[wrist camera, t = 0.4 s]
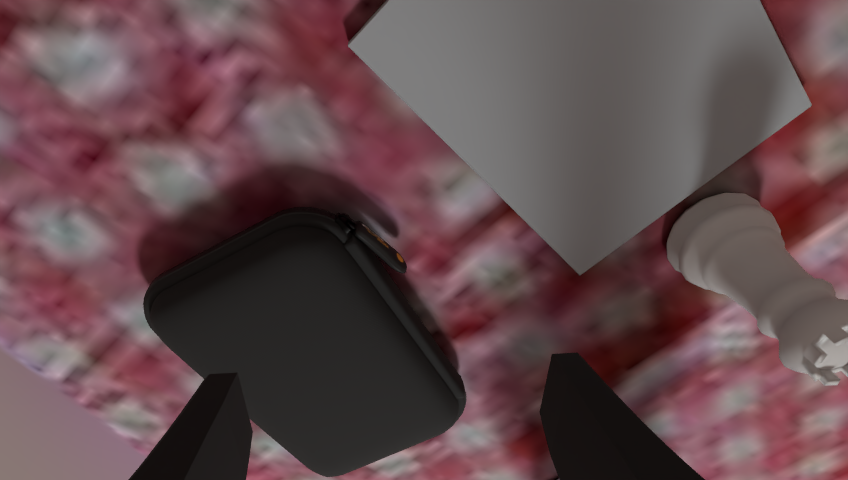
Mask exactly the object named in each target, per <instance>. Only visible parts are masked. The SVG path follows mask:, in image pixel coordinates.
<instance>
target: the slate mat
mask: <svg viewBox="0 0 848 480" xmlns="http://www.w3.org/2000/svg"><path fill="white" fill-rule="evenodd" d="M348 47H349V48H350V49H351V50H353V51H354V52H355V53H356V54H357V55H358V56H359V57H360V58H361V59H362V60H363V61H364V62H365V63H366V64H367V65H368V66H369V67H370V68H371V69H372V70H373V71H374V72H375V73H376V74H377V75H378V76H379V77H380V78H381V79H382V80H383V81H384V82H385V83H386V84H387V85H388V86H389V87H390V88H391V89H392V90H393V91H394V92H395V93H396V94H397V95H398V96H399V97H400V98H401V99H402V100H403V101H404V102H405V103H406V104H407V105H408V106H409V107H410V108H411V109H412V110H413V111H414V112H415V113H416V114H417V115H418V116H419V117H420V118H421V119H422V120H423V121H424V122H425V123H426V124H427V125H428V126H429V127H430V128H431V129H432V130H433V131H434V132H435V133H436V134H437V135H438V136H439V137H440V138H441V139H442V140H443V141H444V142H445V143H446V144H448V145H449V146H450V147H451V148H452V149H453V150H454V151H455V152H456V153H457V154H458V155H459V156H460V157H461V158H462V159H463V160H464V161H465V162H466V163H467V164H468V165H469V166H470V167H471V168H472V169H473V170H474V171H475V172H476V173H477V174H478V175H479V176H480V177H481V178H482V179H483V180H484V181H485V182H486V183H487V184H488V185H489V186H490V187H491V188H492V189H493V190H494V191H495V192H496V193H497V194H498V195H499V196H500V197H501V198H502V199H503V200H504V201H505V202H506V203H507V204H508V205H509V206H510V207H511V208H512V209H513V210H514V211H515V212H516V213H517V214H518V215H519V216H520V217H521V218H522V219H523V220H524V221H525V222H526V223H527V224H528V225H529V226H530V227H531V228H532V229H533V230H534V231H535V232H536V233H537V234H538V235H539V236H540V237H541V238H543V239H544V240H545V241H546V242H547V243H548V244H549V245H550V246H551V247H552V248H553V249H554V250H555V251H556V252H557V253H558V254H559V255H560V256H561V257H562V258H563V259H564V260H565V261H566V262H567V263H568V264H569V265H570V266H571V267H572V268H573V269H574V270H575V271H576V272H577V273H578V274H579V275H581V274H583V273H584V272H586V271H587V270H588V269H590V268H591V267H592V266H594V265H595V264H596V263H598V262H599V261H601V260H602V259H603V258H605V257H606V256H607V255H609V254H610V253H611V252H613V251H614V250H616V249H617V248H618V247H620V246H621V245H622V244H624V243H625V242H626V241H628V240H629V239H631V238H632V237H633V236H635V235H636V234H637V233H639V232H640V231H641V230H643V229H644V228H646V227H647V226H648V225H650V224H651V223H652V222H654V221H655V220H656V219H658V218H659V217H661V216H662V215H663V214H665V213H666V212H667V211H669V210H670V209H671V208H673V207H674V206H676V205H677V204H678V203H680V202H681V201H682V200H684V199H685V198H686V197H688V196H689V195H691V194H692V193H693V192H695V191H696V190H697V189H699V188H700V187H701V186H703V185H704V184H706V183H707V182H708V181H710V180H711V179H712V178H714V177H715V176H716V175H718V174H719V173H721V172H722V171H723V170H725V169H726V168H727V167H729V166H730V165H731V164H733V163H734V162H736V161H737V160H738V159H740V158H741V157H742V156H744V155H745V154H746V153H748V152H749V151H751V150H752V149H753V148H755V147H756V146H757V145H759V144H760V143H761V142H763V141H764V140H766V139H767V138H768V137H770V136H771V135H772V134H774V133H775V132H776V131H778V130H779V129H781V128H782V127H783V126H785V125H786V124H787V123H789V122H790V121H791V120H793V119H794V118H795V117H797V116H798V115H800V114H801V113H802V112H804V111H805V110H806V109H808V108H809V107H810V106H812V105H811V103H810V100H809V98H808V96H807V94H806V92H805V90H804V88H803V86H802V84H801V82H800V80H799V78H798V76H797V74H796V72H795V70H794V68H793V66H792V64H791V62H790V60H789V58H788V56H787V54H786V52H785V50H784V48H783V46H782V44H781V42H780V40H779V38H778V36H777V34H776V32H775V30H774V28H773V26H772V24H771V22H770V20H769V18H768V16H767V14H766V12H765V10H764V8H763V6H762V4H761V2H760V0H386V1H385V2H384V3H383V5H382V6H381V7H380V8H379V9H378V10H377V11H376V12H375V13H374V15H373V16H372V17H371V18H370V19H369V20H368V21H367V22H366V23H365V24H364V26H363V27H362V28H361V29H360V30H359V31H358V32H357V33H356V34H355V35H354V37H353V38H352V39H351V40H350V41H349V42H348Z"/></svg>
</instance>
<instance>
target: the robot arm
mask: <svg viewBox="0 0 848 480" xmlns="http://www.w3.org/2000/svg"><path fill="white" fill-rule="evenodd" d="M540 415H541V420H542V424H543V428H544V432H545V436H546V440H547V444H548V447H549V451H550V455H551V457H552V460H553V463H554V466H555V468H556V471H557V474H558V476H559V479H557V480H705V479H704V478H702V477H701V476H700V475H699V474H698V473H697V472H696V471H694V470H693V469H692V468H691V467H690V466H689V465H688V464H686V463H685V462H684V461H683V460H682V459H681V458H680V457H679V456H678V455H677V454H676V453H675V452H673V451H672V450H671V449H670V448H669V447H668V446H667V445H666V444H665V443H664V442H663V441H662V440H661V439H660V438H659V437H658V436H657V435H655V434H654V433H653V432H652V431H651V430H650V429H649V428H648V427H647V426H646V425H645V424H644V423H643V422H642V421H641V420H640V419H639V418H638V417H637V416H636V415H635V414H634V413H633V412H632V411H631V409H630V408H629V407H628V406H627V405H626V404H625V403H624V402H623V401H622V400H621V399H620V398H619V397H618V396H617V395H616V394H615V393H614V392H613V391H612V390H611V388H610V387H609V386H608V385H607V384H606V383H605V382H604V381H603V380H602V379H601V378H600V377H599V375H598V374H597V373H596V372H595V371H594V370H593V369H592V368H591V367H590V366H589V365H588V364H587V362H586V361H585V360H584V359H583V358H582V357H581V356H580V355H579V354H578V353H563V354H552V357H551V362H550V366H549V371H548V376H547V380H546V385H545V390H544V394H543V399H542V404H541V408H540ZM252 433H253V431H252V427H251V423H250V419H249V415H248V412H247V408H246V404H245V400H244V396H243V392H242V388H241V384H240V380H239V376H238V372H237V373H220V374H209V375H208V376H207V377H206V378H205V379H204V381H203V382H202V383H201V385H200V386H199V388H198V389H197V391H196V392H195V393H194V395H193V396H192V398H191V399H190V400H189V402H188V403H187V405H186V406H185V407H184V409H183V410H182V412H181V413H180V414H179V416H178V417H177V418H176V420H175V421H174V422H173V424H172V425H171V427H170V428H169V429H168V431H167V432H166V433H165V435H164V436H163V437H162V438H161V440H160V441H159V442H158V444H157V445H156V446H155V447H154V449H153V450H152V451H151V453H150V454H149V455H148V456H147V458H146V459H145V460H144V462H143V463H142V464H141V465H140V467H139V468H138V469H137V470H136V472H135V473H134V474H133V475H132V476H131V477H130V479H129V480H246V475H247V469H248V462H249V455H250V448H251V440H252Z"/></svg>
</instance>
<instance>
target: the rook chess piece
mask: <svg viewBox="0 0 848 480" xmlns="http://www.w3.org/2000/svg"><path fill="white" fill-rule="evenodd" d="M780 232H781V230H780V228H779V226H778V224H777V222H776V220H775V218H774V217H773V215H772V213H771V212H770V211H768V210H766V209H764V208H762V207H761V205H760V203H759V201H757V200H755V199H754V198H752V197H750V196H748V195H747V194H744V193H722V194H717V195H714V196H711V197H708V198H704V199H701V200H700V201H698V202H696V203H695V204H693V205H692V206H690V207H689V208H687V209H686V210H685V211H684V212H683V213H682V214H681V215H680V217H679V218H678V219H677V220H676V221H675V222H674V224H673V227H672V229H671V232H670V234H669V237H668V240H667V259H668V260H669V262H670V263H671V265H672V266H673V268H674V269H675V270H676V271H679V272H681V273H682V274H683V276H684V277H685V279H686V280H687V281H689V282H691V283H693V284H695V285H697V286H699V287H701V288H703V289H706V290H712V291H714V292H716V293H719V294H726V295H727V296H728V297H730V298H731V299H732V300H734V301H735V302H736V303H738V304H739V305H740V306H742V307H743V308H744V309H746V310H747V311H748V312H750V313H751V314H752V315H753V316H754V317H755V318H756V320H757V326H758V328H759V329H760V331H761V333H762V334H765V335H767V336H769V337H771V338H777V339H778V340H779V358H780V360H781V361H782V363H783V365H784V366H785V367H787V368H789V369H791V370H794V371H796V372H801V373H806V374H808V375H809V376H810V377H811V378H812V379H813V380H814V381H817V380H818V379H819V380H820V381H821V382H822V383H823V384H824V385H838V383H839V381H840V379H839V378H838V377H837V376H836V375H835V374H834V373H836V372H839V371H842V372H843V373H844V374H845V375H846V376H847V377H848V300H843V299H837V297H836V296H835V291H834V288H833V286H832V284H831V283H829V282H827V281H825V280H823V279H815V278H813V277H812V276H811V275H810V274H808V273H807V272H806V271H805V270H804V269H803V268H802V267H801V266H800V265H799V264H798V263H797V261H796V260H795V259H794V258H793V257H792V256H791V255H790V254H789V253H788V252H787V251H786V249H785V248H784V246H785V243H784V241H783V239H782V237H781V235H780Z"/></svg>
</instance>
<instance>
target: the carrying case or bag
mask: <svg viewBox="0 0 848 480" xmlns="http://www.w3.org/2000/svg"><path fill="white" fill-rule="evenodd" d="M374 253H376V254H377V255H378V256H379V257H380V258H381V259H382V260H384V261H385V262H386V263H387V264H388V265H389V266H390V267H391V268H393V269H394V270H396V271H398V272H400V273H405V272H406V268H407V266H406V263H405V261H404V259H403V258H402V257H401V255H400V254H399V253H398V252H397V251H396V250H395V249H394V248H392V247H391V246H390V245H389V244H387V243H386V242H385V241H384V240H383V239H381V238H380V237H379V236H378V235H376V234H375V233H374V232H373V231H371V230H370V229H369V228H368V227H367V226H365V225H364V224H363V223H362V222H360V221H356V223H355V222H354V221H353V220H352V219H351V218H350V217H349V216H347V215H346V214H343V213H342V214H340V213H338V214H336V215H335V214H333V213H330V212H328V211H325V210H322V209H318V208H312V207H296V208H290V209H286V210H283V211H280V212H278V213H276V214H274V215H272V216H270V217H268V218H266V219H265V220H263V221H261V222H259V223H257V224H255V225H253V226H251V227H249V228H248V229H246V230H244V231H242V232H240V233H238V234H236V235H234V236H232V237H230V238H229V239H227V240H225V241H223V242H221V243H219V244H217V245H215V246H213V247H212V248H210V249H208V250H206V251H204V252H202V253H200V254H198V255H196V256H195V257H193V258H191V259H189V260H187V261H185V262H183V263H181V264H179V265H178V266H176V267H174V268H172V269H170V270H168V271H166V272H164V273H162V274H161V275H159V276H158V277H156V278H155V279H154V281H153V282H152V283H151V284H150V286H149V288H148V290H147V291H146V294H145V297H144V303H143V305H144V314H145V317H146V320H147V322H148V324H149V326H150V328H151V329H152V330H153V331H154V332H155V333H156V334H157V335H158V336H159V337H160V339H161V340H162V341H163V342H164V343H165V344H166V345H167V346H168V347H169V348H170V349H171V350H172V351H173V352H174V353H175V354H176V355H178V356H179V357H180V358H181V359H182V360H183V361H184V362H185V363H187V364H188V365H189V366H190V367H191V368H192V369H193V370H195V371H196V372H197V373H198V374H199V375H200V376H201V377H203V378H204V379H205V378H206V377H207V376H208V375H209V374H220V373H237V372H238V376H239V380H240V384H241V388H242V392H243V396H244V400H245V404H246V408H247V412H248V415H249V419H251V420H252V421H253V422H254V423H255V424H256V425H258V426H259V427H260V428H261V429H262V430H263V431H265V432H266V433H267V434H268V435H269V436H271V437H272V438H273V439H274V440H275V441H276V442H278V443H279V444H280V445H281V446H282V447H284V448H285V449H286V450H287V451H288V452H289V453H291V454H292V455H293V456H294V457H295V458H297V459H298V460H299V461H300V462H301V463H303V464H304V465H305V466H306V467H308V468H309V469H310V470H312V471H314V472H316V473H318V474H320V475H322V476H325V477H333V476H339V475H343V474H346V473H348V472H351V471H353V470H356V469H358V468H361V467H363V466H365V465H368V464H370V463H373V462H375V461H378V460H380V459H382V458H385V457H387V456H390V455H392V454H394V453H397V452H399V451H402V450H404V449H407V448H409V447H411V446H414V445H416V444H419V443H421V442H423V441H426V440H428V439H431V438H433V437H436V436H438V435H440V434H442V433H444V432H445V431H447V430H448V429H449V428H451V427H452V426H453V425H454V423H455V422H456V421H457V420H458V419H459V417H460V416H461V414H462V413H463V411H464V408H465V404H466V392H465V388H464V384H463V381H462V378H461V376H460V375H459V374H458V373H457V372H456V370H455V369H454V368H453V366H452V365H451V363H450V362H449V360H448V359H447V357H446V356H445V355H444V353H443V352H442V350H441V349H440V347H439V346H438V345H437V343H436V342H435V340H434V339H433V337H432V336H431V334H430V333H429V332H428V330H427V329H426V327H425V326H424V324H423V323H422V322H421V320H420V319H419V317H418V316H417V314H416V313H415V311H414V310H413V309H412V307H411V306H410V304H409V303H408V301H407V300H406V299H405V297H404V296H403V294H402V293H401V291H400V290H399V288H398V287H397V286H396V284H395V283H394V281H393V280H392V278H391V277H390V275H389V274H388V273H387V271H386V270H385V268H384V267H383V265H382V264H381V263H380V261H379V260H378V258H377V257H376V255H375V254H374Z"/></svg>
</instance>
